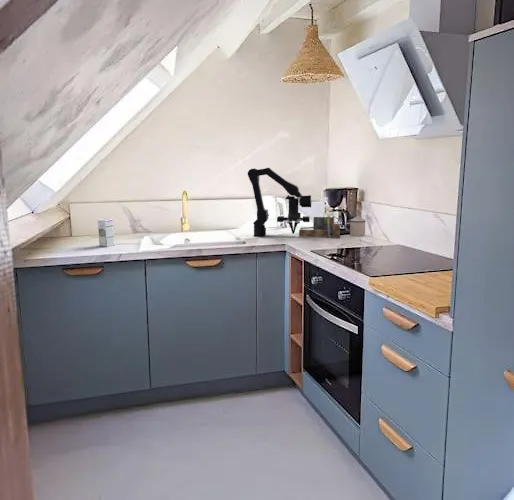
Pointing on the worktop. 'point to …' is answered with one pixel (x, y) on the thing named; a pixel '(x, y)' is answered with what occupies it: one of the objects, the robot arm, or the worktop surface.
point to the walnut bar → (312, 233)
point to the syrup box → (106, 232)
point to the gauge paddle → (328, 228)
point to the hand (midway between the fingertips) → (293, 233)
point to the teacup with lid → (357, 226)
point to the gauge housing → (321, 224)
